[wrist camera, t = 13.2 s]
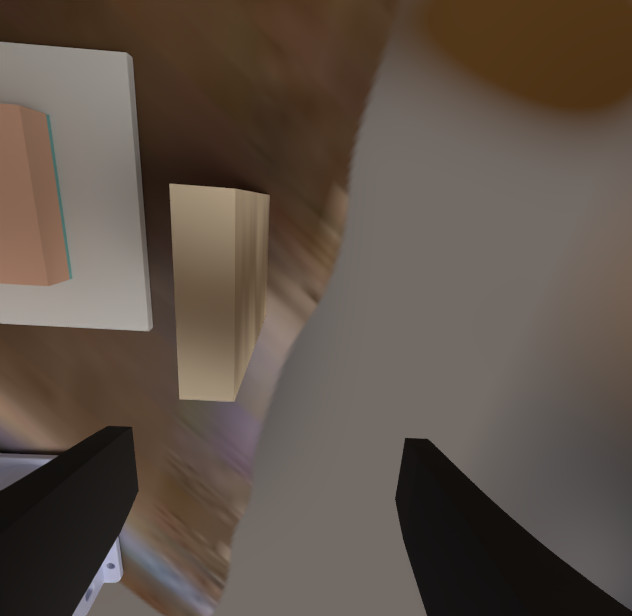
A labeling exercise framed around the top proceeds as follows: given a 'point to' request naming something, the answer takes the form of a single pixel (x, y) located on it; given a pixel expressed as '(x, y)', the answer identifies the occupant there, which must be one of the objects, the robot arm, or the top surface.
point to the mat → (86, 186)
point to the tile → (30, 201)
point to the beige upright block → (217, 285)
